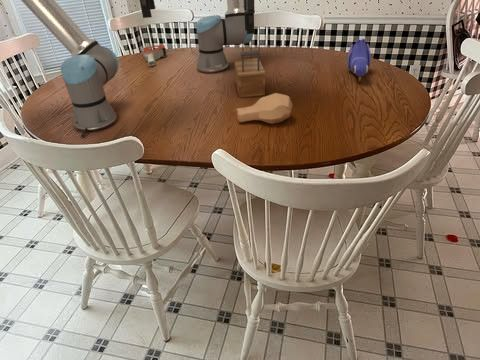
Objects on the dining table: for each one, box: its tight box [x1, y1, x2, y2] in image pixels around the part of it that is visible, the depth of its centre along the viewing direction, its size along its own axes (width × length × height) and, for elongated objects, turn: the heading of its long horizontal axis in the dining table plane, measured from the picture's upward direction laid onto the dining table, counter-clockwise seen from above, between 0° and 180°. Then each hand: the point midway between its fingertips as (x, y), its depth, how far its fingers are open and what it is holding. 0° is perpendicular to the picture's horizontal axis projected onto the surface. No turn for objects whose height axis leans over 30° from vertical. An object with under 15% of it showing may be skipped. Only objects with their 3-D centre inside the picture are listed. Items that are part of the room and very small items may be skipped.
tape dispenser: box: [140, 44, 167, 67], centre depth 190 cm, size 18×5×20 cm
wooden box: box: [233, 62, 266, 99], centre depth 149 cm, size 17×11×9 cm, turn 6°
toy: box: [346, 38, 372, 83], centre depth 153 cm, size 10×17×25 cm
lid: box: [233, 49, 266, 76], centre depth 144 cm, size 17×11×9 cm, turn 6°
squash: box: [236, 92, 293, 125], centre depth 125 cm, size 11×20×9 cm, turn 92°
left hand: (149, 13), depth 121 cm, fingers open, 13 cm apart
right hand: (249, 31), depth 132 cm, fingers open, 5 cm apart
